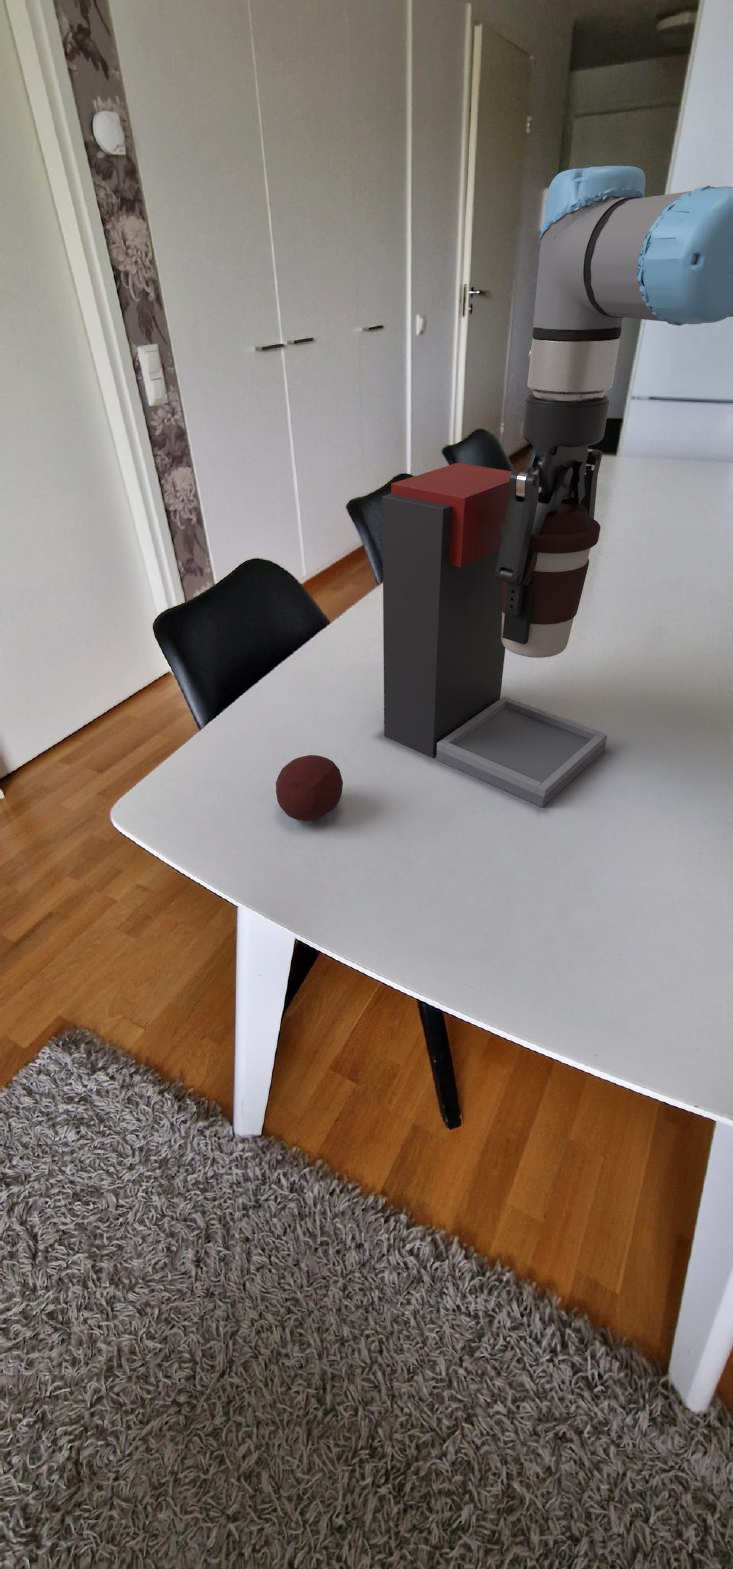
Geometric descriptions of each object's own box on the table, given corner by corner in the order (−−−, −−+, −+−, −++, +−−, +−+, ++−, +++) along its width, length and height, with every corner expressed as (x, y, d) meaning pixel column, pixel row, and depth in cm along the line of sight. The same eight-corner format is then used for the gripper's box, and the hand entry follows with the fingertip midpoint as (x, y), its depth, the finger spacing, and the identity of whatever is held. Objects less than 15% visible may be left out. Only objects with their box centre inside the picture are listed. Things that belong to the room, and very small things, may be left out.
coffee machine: (604, 750, 88) (660, 491, 70) (542, 807, 79) (588, 527, 61) (451, 692, 101) (465, 460, 82) (384, 736, 92) (381, 486, 73)
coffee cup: (588, 664, 75) (615, 520, 66) (495, 665, 75) (509, 522, 66) (568, 626, 83) (590, 492, 74) (484, 627, 83) (495, 494, 74)
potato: (354, 801, 81) (352, 750, 77) (323, 842, 75) (319, 789, 71) (299, 786, 83) (294, 736, 79) (264, 824, 78) (257, 772, 74)
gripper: (585, 377, 72) (554, 590, 86) (467, 405, 60) (452, 649, 73) (656, 382, 68) (612, 605, 82) (545, 414, 56) (514, 670, 69)
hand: (536, 626), depth 78 cm, fingers closed on coffee cup, 8 cm apart
